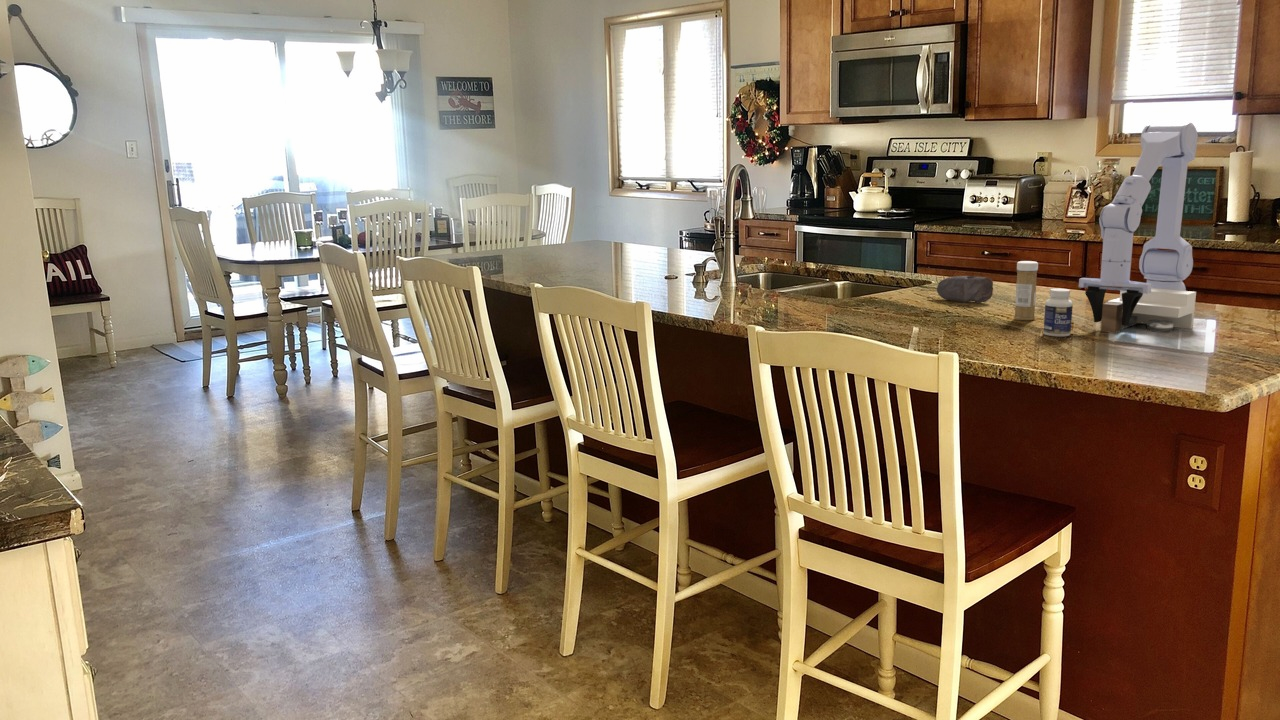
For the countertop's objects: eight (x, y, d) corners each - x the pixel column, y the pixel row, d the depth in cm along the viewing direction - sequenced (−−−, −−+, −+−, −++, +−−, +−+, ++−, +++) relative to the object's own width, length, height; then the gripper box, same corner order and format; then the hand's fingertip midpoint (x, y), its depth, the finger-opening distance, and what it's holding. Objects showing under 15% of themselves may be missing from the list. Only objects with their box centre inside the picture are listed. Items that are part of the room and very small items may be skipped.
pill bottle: (1054, 338, 213) (1057, 292, 211) (1037, 333, 218) (1040, 288, 216) (1076, 336, 214) (1079, 290, 212) (1059, 331, 219) (1062, 287, 217)
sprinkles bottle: (1038, 319, 234) (1042, 261, 231) (1026, 321, 231) (1030, 263, 229) (1021, 316, 238) (1025, 259, 235) (1009, 319, 235) (1012, 261, 232)
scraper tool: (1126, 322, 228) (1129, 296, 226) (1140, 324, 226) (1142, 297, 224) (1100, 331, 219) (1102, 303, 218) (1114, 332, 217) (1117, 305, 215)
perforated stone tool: (931, 300, 265) (932, 273, 264) (942, 298, 268) (943, 272, 267) (983, 306, 254) (984, 278, 252) (994, 303, 257) (995, 276, 256)
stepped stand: (1122, 320, 231) (1125, 285, 229) (1192, 328, 220) (1196, 291, 218) (1105, 325, 225) (1108, 290, 223) (1176, 334, 214) (1180, 296, 212)
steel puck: (1152, 327, 223) (1153, 318, 222) (1176, 330, 219) (1177, 321, 219) (1143, 330, 220) (1144, 321, 219) (1167, 333, 216) (1168, 324, 215)
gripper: (1074, 259, 218) (1069, 321, 221) (1143, 264, 208) (1138, 329, 211) (1088, 256, 223) (1084, 317, 226) (1157, 261, 212) (1151, 325, 215)
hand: (1111, 323), depth 218 cm, fingers open, 5 cm apart
